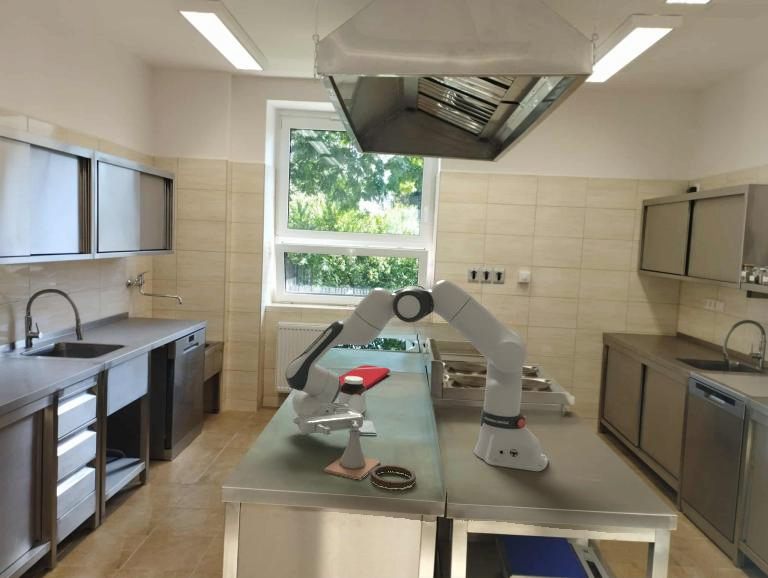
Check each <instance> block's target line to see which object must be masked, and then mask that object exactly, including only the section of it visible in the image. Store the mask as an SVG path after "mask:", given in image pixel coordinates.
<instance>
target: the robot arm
mask: <svg viewBox="0 0 768 578" xmlns="http://www.w3.org/2000/svg"><path fill="white" fill-rule="evenodd" d="M432 313H434V314H436V315H438V316H439V317H441V318H442V319H443V320H444V321H445V322H446V323H448V324H449V325H450V326H451V327H452V328H453V329H454V330H455V331H456V332H458V333H460V335H461V336H463V337H464V338H465V339H466V340H467V341H468V342H469V343H470V344H471V345H472V346H473V347H474V348H475V349H476V350H477V351H478V352H479V353H480V354H481V355H482V356H483V358H485V359H486V360H487V367H486V380H485V389H484V391H485V392H484V400H483V401H484V402H483V408H482V409H481V414H480V431H479V436H478V440H477V443H476V446H475V448H474V451H473V453H474V454H475V456H477V457H478V458H479V459H481V460H483V461H484V462H485V463H487V464H488V465H490V466H497V467H504V468H512V469H517V470H525V471H531V472H541V471H543V470H545V469H546V468H547V466H548V464H549V463H548V460H549V458H548V456H546V455H545V454H543V453H542V447H541V446H542V445H541V443H540V439H538V438H537V436H535V435H534V434H533V433H532V432H531V431H530V430H529V429H528V428H527V427H526V418H527V417H526V415H523V414H522V413H520V411H521V400H522V393H523V392H522V390H523V370H524V365H525V364H526V362H527V358H528V351H527V347H526V345H525V342H524V340H523V338H522V337H521V336H520V334H519V333H517V332H516V331H514V330H511V329H508V328H507V327H506V326H505V325H504V324H503V323H502V322H501V321H500V320H498V318H497V317H496V316H494V315H493V313H492V312H491V311H490V310H488V309H487V308H486V307H485V306H484V305H483V304H481V303H480V302H479V301H477V299H475V298H474V297H473V296H472V295H471V294H469V293H468V292H467V291H466V290H464V289H463V288H462V287H460V286H459V285H457V284H456V283H454V282H452V281H450V280H449V279H440V280H438V281H436V282H435V283H433V285H432V286H431V287H429V288H425V287H424V286H420V284H419V285H418V284H411V285H407V286H405V287H402V288H401V289H399V290H395V291H394V292H391V291H390V290H388V289H386V288H383V287H374V288H373V289H372V290H370V291H369V292H368V293H367V294H366V295H365V296H364V297H363V298H362V299H361V300H360V302H359V303H358V304H357V305H356V307H355V308H354V309H353V310H352V312H351V313H350V314H349V315H348V316H346V317H345V318H344V319H341V320H338V321H334V322H333V323H331V324H330V325H329V326H328V327H327V328H326V329H325V330H324V331H323V332H322V333H321V334H320V335H318V337H317V338H316V339H315V340H314V341H313V342H312V343H311V344H310V345H309V346H308V347H307V348H306V349H305V350H304V351H303V352H302V353H301V354H300V355H299V356H298V357H296V358H294V360H292V361H291V362H290V363H289V365H288V366H287V368H286V370H285V379H286V383H287V384H288V386H289V388H290V389H293V390H296V391H298V392H296V393H295V394H294V396H293V397H292V402H291V404H292V409H293V411H294V413H295V414H296V415H297V417H296V418H293V420H292V422H293V423H294V424H295V425H297V428H298V429H299V431H301V433H302V434H304V435H305V434H307V435H310V434H317V433H319V434H323V435H324V436H329V435H331V432H335V431H344V430H350V429H358V430H359V428H361V427H362V426H363V420H364V415H363V413H361V414H360V413H359V412H357V411H356V410H354V409H351V408H349V406H348V405H347V404H339V402H338V403H337V402H336V403H335V401H336V400H337V398H339V392H340V389H341V382H340V378H339V377H340V376H339V374H338V373H337V372H334V371H333V370H330V369H329V368H327V367H324V366H322V365H319V364H317V363H319V361H321V359H322V358H323V357H324V356H325V355H327V353H328V352H329V351H330V350H331V349H332V348H334V347H337V346H342V345H343V346H344V345H350V346H366V345H369V344H371V343H373V342H374V341H375V340H376V339H377V338H378V337H379V336H380V334H381V332H383V330H384V329H385V327H386V326H387V325H388V324H389V322H390V320H392V319H394V318H395V317H397V319H398V320H399V321H402V322H404V323H407V324H408V323H409V324H412V323H416V322H419V321H420V320H422V319H424V318H425V317H427V316H428V315H430V314H432Z"/></svg>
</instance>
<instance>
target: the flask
mask: <svg viewBox="0 0 768 578" xmlns="http://www.w3.org/2000/svg"><path fill="white" fill-rule="evenodd" d="M348 433H349V438H348V442H347V445H346V447H345V449H344V452H343V454H342V456H341V457H342V458H341V457H340V458H341V460H340V462H339V464H341V465H342V466H343V467H346V468H350V469H357V468H362V467H363V466H365V465H366V463H365V459H364V453H363V450H362V446H361V441H360V440H361V439H360V436H361V435H360V433H361V431H360V430H358V429H351V430H350V429H348Z"/></svg>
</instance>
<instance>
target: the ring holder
mask: <svg viewBox="0 0 768 578" xmlns="http://www.w3.org/2000/svg"><path fill="white" fill-rule="evenodd" d="M388 471H389V472H390V471H391V472H392V471H393V472H399V473H404V474H406V475H408V476H410V479H409V478H407V479H404V480H388V479H384V478H381V477H380V476H379V475H377V474H378V473H381V472H388ZM376 475H377V476H376ZM370 477H371V478H370V481H372V482H374V483H375V484H377V485H379V486H383V487H387V488H404V487H407V486H410V485H412V484H413V483H414V482H415V483H416V481H417V480H416V478H417V476H416V473H415V471H414V470H412V469H410V468H408V467H406V466H402V465H398V464H382V465H381V464H380V465H378V466H376V467H375V468H373V469H372V470H371V472H370ZM372 482H371V483H372ZM375 484H374V485H375Z"/></svg>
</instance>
